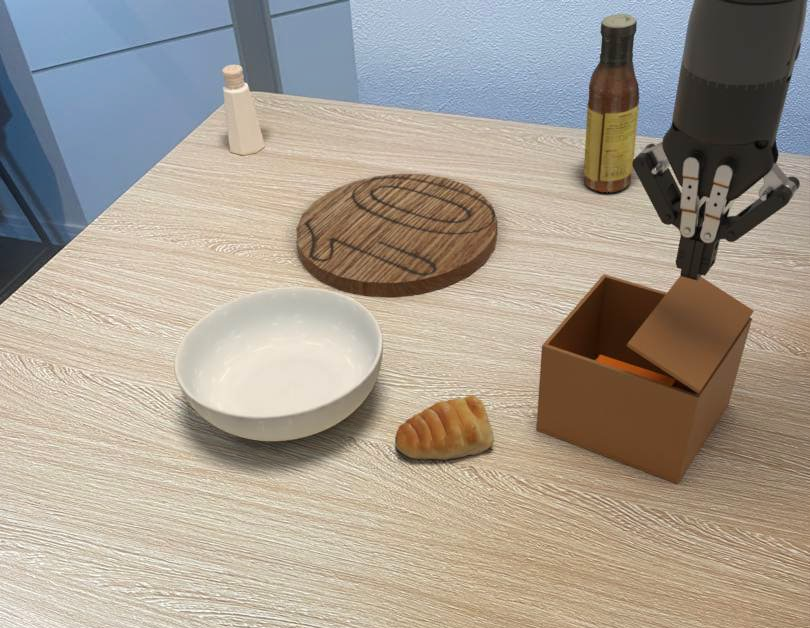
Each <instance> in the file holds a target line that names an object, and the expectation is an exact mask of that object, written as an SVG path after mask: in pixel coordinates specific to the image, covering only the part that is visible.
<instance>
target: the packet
mask: <svg viewBox="0 0 810 628" xmlns="http://www.w3.org/2000/svg"><path fill="white" fill-rule="evenodd" d="M595 361H598V362H601V363H604V364H607V365H610V366H613V367H616V368H619V369H622V370H624V371H627V372H630V373H633V374H636V375H639V376H642V377H645V378H648V379H651V380H654V381H657V382H660V383H663V384H666V385H669V386H672V387H675V385H676V379H674V378H671V377H668V376H665V375H662V374H659V373H656V372H652V371H649V370H646V369H643V368H640V367H637V366H634V365H631V364H628V363H625V362H622V361H619V360H616V359H613V358H609V357H606V356H603V355H599V357H598V358H597V359H596V360H595Z"/></svg>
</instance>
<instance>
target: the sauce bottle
mask: <svg viewBox="0 0 810 628" xmlns="http://www.w3.org/2000/svg"><path fill="white" fill-rule="evenodd" d="M637 21H638V20H637V18H636V17H635V16H632V15H630V14H627V13H618V14H616V13H615V14H612V15H611V14H610V15H607V16H605V17H603V18H602V20H601V22H600V23H601V24H600V35H601V43H600V45H601V46H600V54H599V62H598V64H597V66H596V67H595V68H594V70H593V72H592V74H591V76H590V80H589V84H588V101H587V104H586V105H587V106H586V108H587V109H586V123H585V124H586V126H585V141H584V142H585V144H584V160H583V162H584V163H583V173H584V182H585V186H586V187H587V188H589V189H592V190H594V191H596V192H598V191H599V192H598V193H604V192H606V193H608V192H609V193H616V192H620V191H623V190H624V189H625V188H627V187H628V186H629V185H630V184H631V181H632V172H633V170H634V168H633V166H632V162H633V160H634V159H635V149H636V138H637V128H638V116H639V108H640V107H639V105H640V88H639V82H638V79H637V77H636V73H635V67H634V66H635V65H634V60H633V58H634V53H633V52H634V41H635V35H636V33H637V25H638V23H637ZM606 193H605V194H606Z"/></svg>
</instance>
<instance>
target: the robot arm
mask: <svg viewBox="0 0 810 628" xmlns="http://www.w3.org/2000/svg"><path fill="white" fill-rule="evenodd" d="M807 7H808V0H693V4H692V7H691V10H690V13H689V18H688V22H687V26H686V33H685V40H684V46H683V51H682V56H681V57H682V58H681V64H680V70H679V76H678V82H677V89H676V94H675V101H674V107H673V111H672V118H671V119H672V121H671V125H670V127H669V129H668V130H667V131H666V132H665V134H664V135H663V137H662V141H661V142H659V143H656V144H654V143H649V144H647V145H646V146H645V147H644V148H643V149H642V150H641V152H639V153H638V154H637V155H636V156H635V157H634V160H633V162H632V166H633V170H634V172H635V174H636V176H637V178H638V180H639V181H640V183H641V185H642V187H643V189H644V192H645V193H646V195H647V196H648V197H647V198H648V199H649V201H650V203H651V204H652V206H653V208H654V210H655V212H656V214H657V216H658V217H659V220H660V221H661V223H662V224H664V225H666V226H669V225H672V226H673V227H675V228H677V230H678V231H679V234H680V235H679V237H680V238H679V243H678V248H677V253H676V258H675V265H676V266H675V267H676V269H680V272H679V273H680V275H679V277H680V276H682V277H686V278H690V279H693V280H697V281H698V279H699V278H700V277H702V276H704V277H705V276H706V275H707V274H708V272H709V271H710V270H711V268H712V267H713V266H714V265H715V263H716V259H717V254H718V250H719V246H720V242H721V240H725V241H727V242H729V243H734V242H736V241H738V240H739V239H740V238H742V237H743V236H745V235H746V234H747V233H749V232H750V231H752V230H754V229H755V228H756V227H757V226H759V225H760V224H761V223H763V222H765V221H766V220H767V219H768V218H770V217H772V216H773V215H775V214H776V213H778V212H779V211H780V210H782V209H784V207H785V206H787V205H788V204H789V202H790V201H791V200H792V198H793V197H794V196H795V195H796V193H797V192H798V190H799V188H800V187H801V183H800V179H798V178H797V177H796V176H791V175H790V176H788V175H786V174H785V173H784V171H783V170H782V169H781V168H780V166H779V165H778V164H777V162H778V160H779V149H778V146H777V136H778V131H779V127H780V123H781V118H782V116H783V112H784V107H785V104H786V99H787V95H788V91H789V88H790V84H791V79H792V76H793V72H794V68H795V64H796V62H797V60H798V59H799V55H800V51H801V46H802V42H801V41H802V36H803V32H804V28H805V23H806V17H807V16H806V15H807ZM669 167H671V169H672V172H673V174H674V176H675V178H676V179H675V178H674V176H673V174H672V172H671V170H670V168H669ZM762 179H763V185H762V186H761V187H760V188H759V190H758V197H759V198H757V199H756V200H754V201H753V202H751V204H750V205H748V206H747V207H745V208H744V209H742V210H741V211H740V212H738V213H737V214H736V215H730V212H731V210H732V207H733V205H734V202H735V200H737V199H739V198H740V197H741V196H743V195H744V194H745V193H746V192H747V191H749V190H750V189H751V188H752V187H753V186H755V185H756V184H757V183H759V182H760V180H762ZM676 181H677V182H678V183H677V182H676ZM678 184H679V185H678ZM679 186H680V188H681V189H680V188H679Z"/></svg>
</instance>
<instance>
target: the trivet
mask: <svg viewBox="0 0 810 628" xmlns="http://www.w3.org/2000/svg"><path fill="white" fill-rule="evenodd" d="M295 230H296V244H297V250H298V256H299V258H300V260H301V263H302V264H303V266H304V268H305V269H306V271H308V272H309V273H310V274H311V275H312V276H314V278H316V279H317V280H318V281H320V282H321V283H323V284H326V285H328V286H330V287H333V288H335V289H337V290H339V291H341V292H346V293H351V294H356V295H359V296H365V297H381V298H397V297H406V296H414V295H423V294H426V293H431V292H433V291H436V290H437V291H438V290H441V289H444V288H447V287H449V286H452V285H455V284H456V283H458V282H460V281H462V280H464V279H466V278H468V277H470V276H471V275H473V274H474V273H475V272H476V271H477V270H479V269H480V268H481V267H483V266H484V265H485V264H486V263H487V262H488V260H489V259H490V256H491V255H492V254H493V252H494V251H495V248H496V243H497V238H498V218H497V214H496V211H495V208H494V206H493V205H492V203H490V201H489V200H488V199H487V197H485V196H484V195H483V194H482V193H481V192H479V191H477V190H476V189H475V188H473V187H471V186H469V185H467V184H465V183H463V182H460V181H457V180H453V179H451V178H448V177H443V176H436V175H431V174H426V173H425V174H424V173H395V174H385V175H375V176H371V177H367V178H363V179H359V180H355V181H351V182H349V183H347V184H344V185H342V186H339V187H336V188H335V189H331V190H330V191H329V192H327V193H326V194H324V195H322V196H321V197H319V198H318V199H316V200H315V201H313V203H312V204H311V205H310V206H309V207H308V208H307V209H306V210H305V211H304V212H303V213H302V214H301V217H300V219H299V221H298V223H297V226H296V229H295Z"/></svg>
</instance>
